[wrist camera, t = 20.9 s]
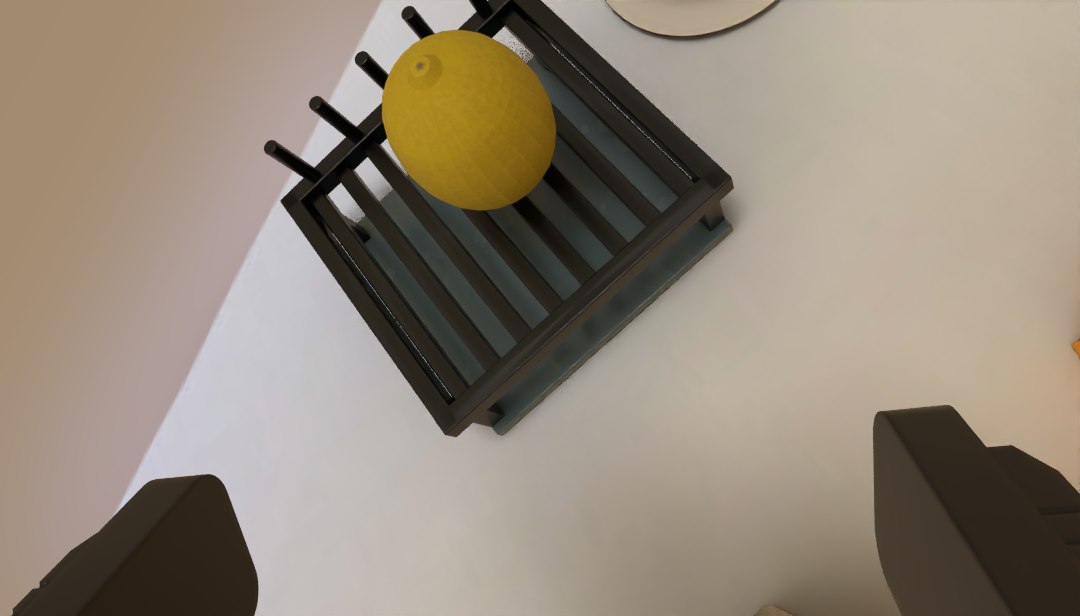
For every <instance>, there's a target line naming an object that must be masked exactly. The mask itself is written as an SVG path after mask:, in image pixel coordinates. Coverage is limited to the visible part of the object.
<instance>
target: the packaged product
mask: <svg viewBox="0 0 1080 616" xmlns="http://www.w3.org/2000/svg"><path fill="white" fill-rule="evenodd" d="M755 616H793V615H791V614H789V613H787V612H785V611H783V610H781V609H778V608H776V607H774V606H765V607H763V608H762V609H761V610H760V611H759V612H758V613H757V614H756V615H755Z"/></svg>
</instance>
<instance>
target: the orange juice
mask: <svg viewBox="0 0 1080 616" xmlns="http://www.w3.org/2000/svg"><path fill="white" fill-rule="evenodd" d="M1072 346H1073V348H1074V349H1075V351H1076V352H1077V354H1078V355H1079V357H1080V340H1079V341H1077V342H1076V343H1074V344H1072Z"/></svg>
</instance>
